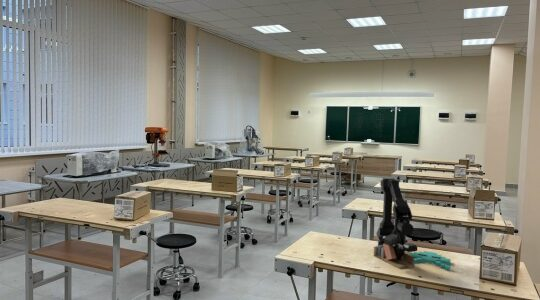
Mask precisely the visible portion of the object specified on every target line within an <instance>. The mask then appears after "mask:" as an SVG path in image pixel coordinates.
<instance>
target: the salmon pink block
mask: <svg viewBox="0 0 540 300" xmlns="http://www.w3.org/2000/svg"><path fill="white" fill-rule="evenodd" d="M383 247H384V251H385V255H386V259H387V260H390V259H397V258H396V254H395V251H394V249H393V248H392V247H391V246H389V245H386V244H383ZM402 257H403V256H402ZM402 257H401V258H402Z"/></svg>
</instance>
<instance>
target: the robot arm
mask: <svg viewBox="0 0 540 300" xmlns="http://www.w3.org/2000/svg"><path fill="white" fill-rule="evenodd" d="M379 184H380V188H381V189H380V190H381V191H382V192H383V205H382V206H383V208H382V209H383V211H382V220H381V222H380V223H379V227H378V229H377V231H376V237H377V238H378V241H377V246H378V245H383V244H386V245H389V246H391V247H392V248H393V249H394V251H395V254H396V258H397V260H400V259H401V257H402V256H403V254H404V252H405V253H409V252H410V253H414V252H417V251H418V246H417V244H414V243H408V240H407V236H410V235H412V233H414V229H415V228H414V225H412V223H411V221H413V219H412V218H413V213H412V211H411V210H412V209H411V208H410V206H409V204H408V202H407V201H406V200H405V199H404V198H403V197H404V196H403V194H402V191H401V187H400V181H399V179H395V178H389V177H386V178H385V177H383V178H382V179H380V182H379ZM392 214H393V215H392ZM392 216H393V217H392ZM393 218H394V223H393V221H392V219H393Z"/></svg>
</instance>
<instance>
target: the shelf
mask: <svg viewBox="0 0 540 300" xmlns="http://www.w3.org/2000/svg"><path fill="white" fill-rule="evenodd" d="M373 248H374V249H373V257H375V258H377V259H379V260H381V261H383V262H385V263H386V264H389V265H391V266H393V267H395V268H397V269H399V270H401V269H409V268H413V267H414V266H415V263H414V256H411V255H409V253H408V252H406V251H405V252H404V254H403V257H402V258H401V259H400V260H397V259H390V260H387V259H386V255H385V251H384V247H383V245H378V244H377V246H374V247H373Z"/></svg>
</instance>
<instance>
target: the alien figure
mask: <svg viewBox="0 0 540 300" xmlns="http://www.w3.org/2000/svg"><path fill="white" fill-rule="evenodd" d="M408 254H409V255H411V256H414V264H417V263H418V264H419V263H420V264H422V263H426V262H427V263H428V264H432V263H433V264H434V265H435V266H436V267H439V268H441V269H444V270H445V271H447V272H451V258H447V257H446V256H442V254H438V253H437V252H433V251H426V250H423V251H418V252H417V251H414V252H408ZM427 263H426V264H427Z"/></svg>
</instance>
